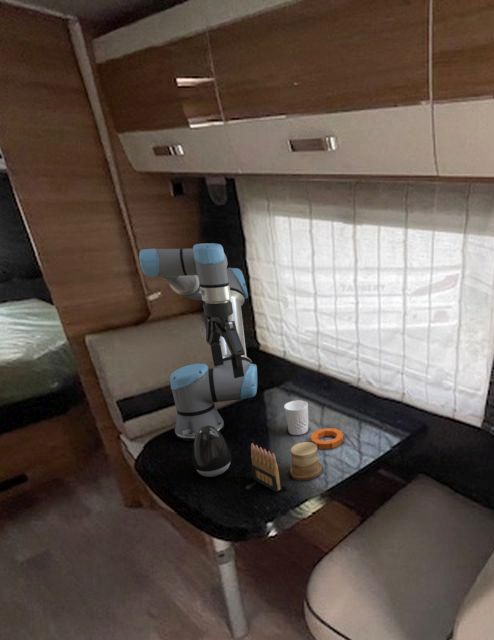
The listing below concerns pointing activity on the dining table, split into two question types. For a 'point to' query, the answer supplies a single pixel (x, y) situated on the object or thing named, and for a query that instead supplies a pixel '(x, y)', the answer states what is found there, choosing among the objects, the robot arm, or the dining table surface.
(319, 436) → the orange ring
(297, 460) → the stacking tower
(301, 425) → the white cup
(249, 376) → the robot arm
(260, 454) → the ammunition clip
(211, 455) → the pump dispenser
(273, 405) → the dining table surface
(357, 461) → the dining table surface
